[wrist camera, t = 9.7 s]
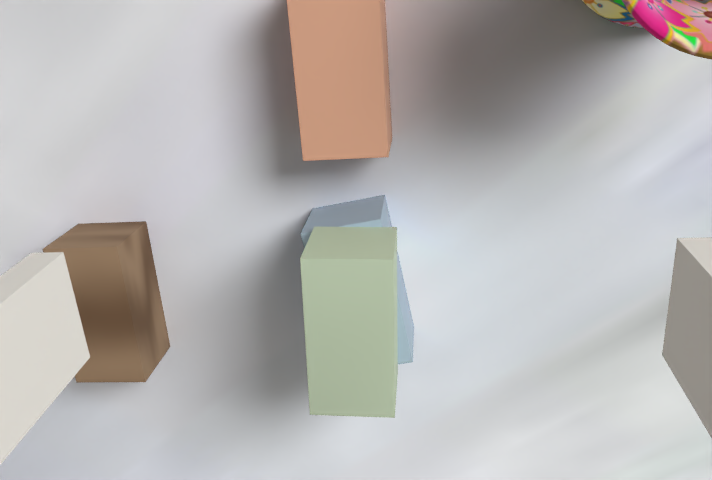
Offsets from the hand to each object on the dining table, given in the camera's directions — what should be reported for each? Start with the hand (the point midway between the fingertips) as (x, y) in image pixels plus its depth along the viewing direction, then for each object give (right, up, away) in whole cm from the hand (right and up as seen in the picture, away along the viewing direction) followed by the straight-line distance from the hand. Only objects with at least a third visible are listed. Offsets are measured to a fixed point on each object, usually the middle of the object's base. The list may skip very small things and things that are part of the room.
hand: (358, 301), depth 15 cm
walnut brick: (-14, -1, +25) cm, 28 cm away
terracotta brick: (0, +10, +19) cm, 22 cm away
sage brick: (0, -2, +19) cm, 19 cm away
